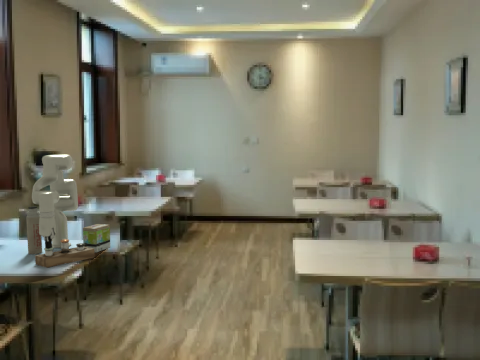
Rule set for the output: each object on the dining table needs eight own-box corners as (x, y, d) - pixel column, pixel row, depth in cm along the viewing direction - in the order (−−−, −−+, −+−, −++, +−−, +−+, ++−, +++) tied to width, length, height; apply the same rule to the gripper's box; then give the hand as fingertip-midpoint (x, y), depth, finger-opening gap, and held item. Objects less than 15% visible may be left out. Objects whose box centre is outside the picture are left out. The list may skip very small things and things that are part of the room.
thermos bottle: (44, 252, 338) (41, 206, 336) (30, 255, 333) (28, 208, 331) (39, 250, 345) (37, 205, 342) (26, 252, 339) (23, 206, 337)
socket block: (35, 264, 310) (35, 255, 310) (82, 254, 333) (82, 246, 332) (47, 267, 302) (46, 258, 302) (94, 257, 325) (94, 248, 324)
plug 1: (43, 261, 309) (42, 248, 309) (51, 259, 313) (50, 246, 312) (47, 262, 306) (47, 249, 306) (55, 260, 310) (54, 247, 309)
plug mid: (59, 253, 317) (58, 240, 316) (66, 251, 320) (66, 238, 319) (64, 254, 314) (63, 241, 313) (71, 252, 317) (70, 239, 316)
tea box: (97, 252, 336) (96, 228, 335) (83, 251, 340) (81, 227, 338) (111, 247, 350) (110, 224, 349) (97, 246, 354) (96, 223, 352)
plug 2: (75, 256, 325) (74, 244, 324) (82, 255, 328) (81, 242, 327) (79, 257, 322) (79, 245, 321) (86, 256, 325) (86, 243, 324)
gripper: (33, 214, 309) (35, 247, 311) (48, 217, 299) (49, 251, 301) (46, 212, 315) (47, 245, 316) (60, 215, 305) (62, 248, 307)
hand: (48, 248), depth 309 cm, fingers closed
